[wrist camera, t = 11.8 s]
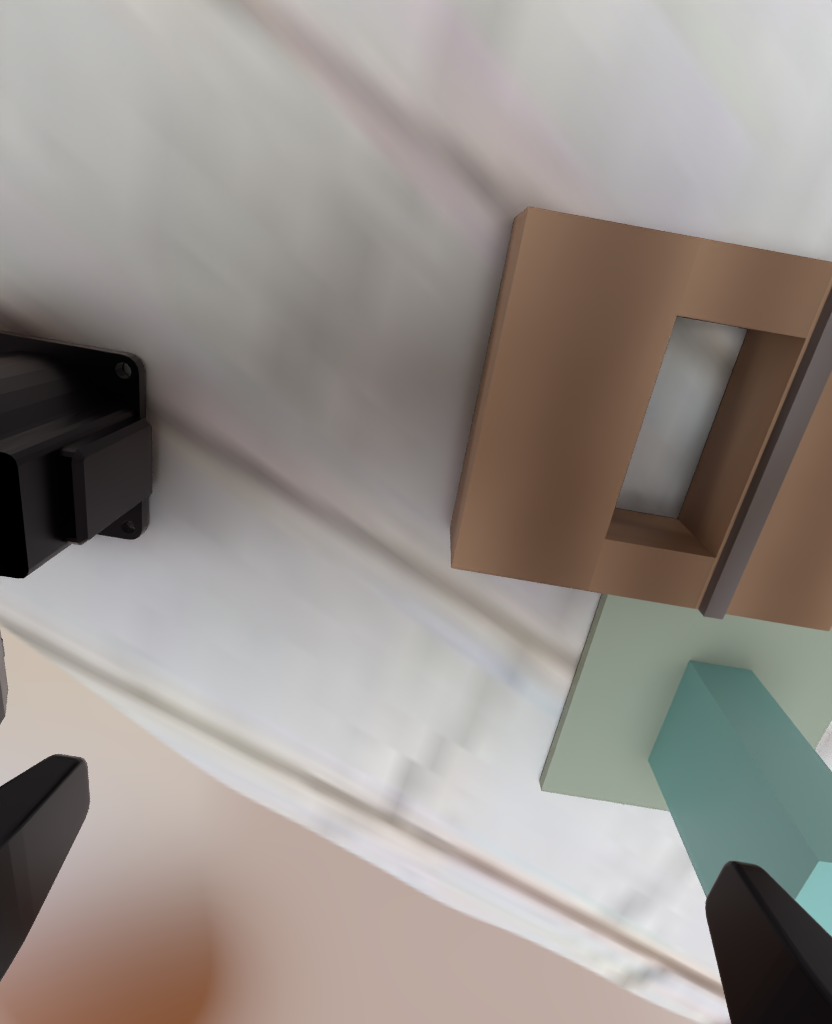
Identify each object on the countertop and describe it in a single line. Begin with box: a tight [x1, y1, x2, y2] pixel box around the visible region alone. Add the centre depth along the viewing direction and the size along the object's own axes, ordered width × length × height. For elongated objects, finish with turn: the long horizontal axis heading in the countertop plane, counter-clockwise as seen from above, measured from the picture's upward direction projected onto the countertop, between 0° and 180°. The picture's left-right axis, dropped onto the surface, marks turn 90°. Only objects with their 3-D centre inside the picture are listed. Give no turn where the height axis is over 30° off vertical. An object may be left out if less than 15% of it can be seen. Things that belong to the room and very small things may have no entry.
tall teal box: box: [648, 660, 832, 936], centre depth 19 cm, size 2×5×8 cm, turn 171°
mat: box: [539, 593, 832, 811], centre depth 23 cm, size 10×10×1 cm
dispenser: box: [450, 207, 832, 631], centre depth 17 cm, size 12×10×3 cm
